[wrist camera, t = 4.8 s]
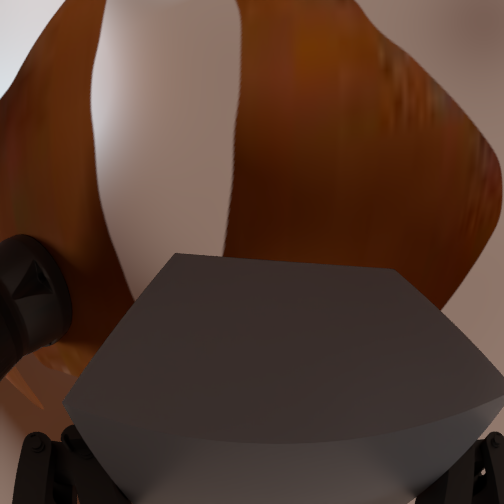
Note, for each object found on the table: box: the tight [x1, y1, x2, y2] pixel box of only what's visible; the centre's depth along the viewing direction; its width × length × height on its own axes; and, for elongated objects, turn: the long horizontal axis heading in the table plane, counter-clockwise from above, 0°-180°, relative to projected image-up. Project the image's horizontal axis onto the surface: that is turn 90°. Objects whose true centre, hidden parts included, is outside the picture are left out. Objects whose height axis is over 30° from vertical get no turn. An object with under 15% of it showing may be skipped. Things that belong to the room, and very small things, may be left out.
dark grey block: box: [62, 253, 504, 504], centre depth 9 cm, size 10×10×9 cm
